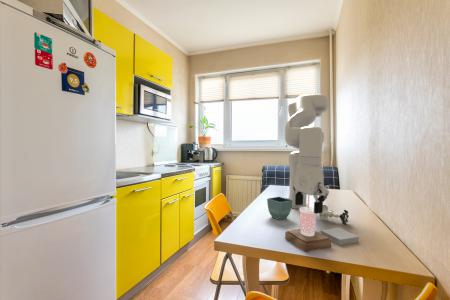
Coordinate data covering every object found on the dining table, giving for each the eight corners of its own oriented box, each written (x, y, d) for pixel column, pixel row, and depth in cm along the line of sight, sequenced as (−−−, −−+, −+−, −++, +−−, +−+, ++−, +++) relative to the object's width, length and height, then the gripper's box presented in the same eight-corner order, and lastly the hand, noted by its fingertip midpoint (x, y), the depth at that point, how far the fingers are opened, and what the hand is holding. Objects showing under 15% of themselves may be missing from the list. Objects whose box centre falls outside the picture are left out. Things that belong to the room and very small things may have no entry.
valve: (316, 219, 104) (343, 226, 96) (316, 205, 104) (344, 211, 96) (321, 216, 109) (348, 223, 100) (322, 203, 109) (349, 208, 100)
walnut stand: (285, 238, 82) (285, 230, 82) (308, 234, 86) (308, 226, 86) (305, 251, 72) (305, 242, 72) (331, 246, 76) (331, 238, 76)
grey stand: (320, 235, 86) (320, 230, 86) (337, 232, 89) (338, 227, 89) (339, 245, 77) (340, 239, 77) (358, 241, 80) (358, 236, 80)
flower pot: (278, 213, 112) (278, 196, 111) (292, 218, 105) (293, 200, 104) (266, 216, 106) (266, 198, 106) (280, 222, 99) (281, 202, 99)
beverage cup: (301, 229, 84) (302, 192, 83) (318, 233, 80) (319, 195, 80) (296, 234, 79) (297, 195, 78) (314, 238, 75) (315, 198, 75)
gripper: (286, 159, 85) (284, 203, 86) (319, 164, 69) (317, 218, 70) (301, 159, 88) (300, 201, 89) (337, 163, 72) (335, 215, 73)
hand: (308, 208), depth 79 cm, fingers open, 9 cm apart
